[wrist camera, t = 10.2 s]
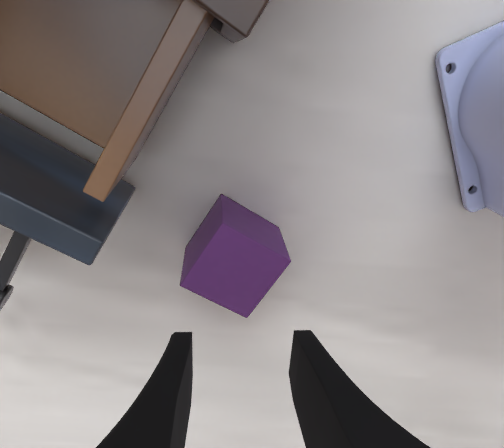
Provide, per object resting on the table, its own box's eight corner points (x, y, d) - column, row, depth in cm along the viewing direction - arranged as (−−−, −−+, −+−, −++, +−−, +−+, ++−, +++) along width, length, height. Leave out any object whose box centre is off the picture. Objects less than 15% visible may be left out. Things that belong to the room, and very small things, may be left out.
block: (242, 277, 23) (247, 318, 20) (185, 247, 22) (179, 286, 19) (279, 227, 22) (291, 261, 19) (221, 193, 21) (222, 222, 17)
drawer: (80, 284, 22) (32, 367, 16) (-136, 188, 18) (-293, 249, 13) (259, -27, 16) (282, -69, 10) (-4, -241, 13) (-176, -471, 7)
